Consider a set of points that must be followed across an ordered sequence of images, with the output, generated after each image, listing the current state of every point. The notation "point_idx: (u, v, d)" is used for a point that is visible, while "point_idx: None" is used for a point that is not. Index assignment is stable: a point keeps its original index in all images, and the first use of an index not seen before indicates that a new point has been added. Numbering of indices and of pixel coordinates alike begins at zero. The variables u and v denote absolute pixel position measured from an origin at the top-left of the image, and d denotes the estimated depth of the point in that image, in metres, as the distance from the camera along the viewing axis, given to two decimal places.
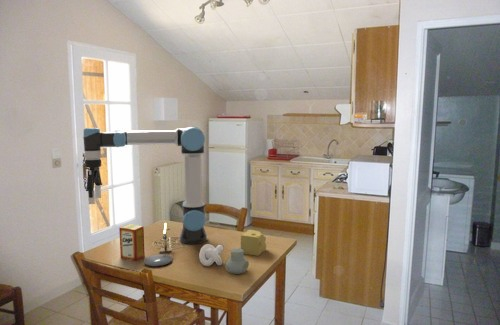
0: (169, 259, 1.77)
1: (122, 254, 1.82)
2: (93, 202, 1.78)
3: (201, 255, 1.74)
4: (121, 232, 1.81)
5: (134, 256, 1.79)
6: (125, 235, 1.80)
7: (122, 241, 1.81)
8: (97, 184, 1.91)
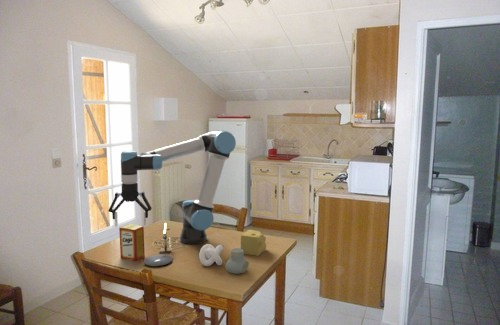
0: (169, 259, 1.77)
1: (122, 254, 1.82)
2: (115, 224, 1.80)
3: (201, 255, 1.74)
4: (121, 232, 1.81)
5: (134, 256, 1.79)
6: (125, 235, 1.80)
7: (122, 241, 1.81)
8: None
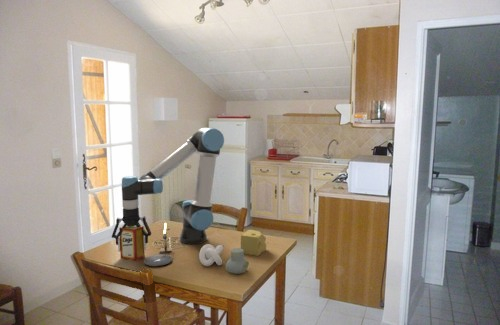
0: (169, 259, 1.77)
1: (122, 254, 1.82)
2: None
3: (201, 255, 1.74)
4: None
5: (134, 256, 1.79)
6: (125, 235, 1.80)
7: (122, 241, 1.81)
8: None
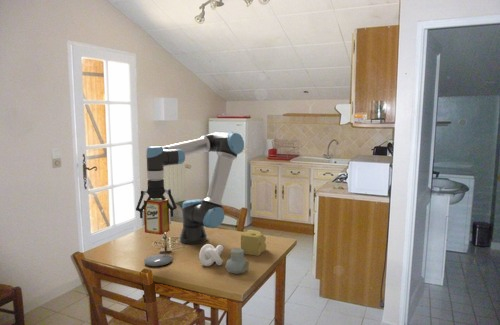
0: (169, 259, 1.77)
1: (146, 228, 1.74)
2: None
3: (201, 255, 1.74)
4: None
5: (159, 230, 1.71)
6: (149, 208, 1.72)
7: (146, 214, 1.73)
8: (170, 208, 1.76)
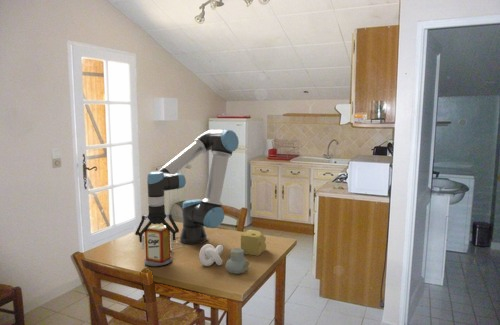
0: (169, 259, 1.77)
1: (148, 256, 1.76)
2: (142, 247, 1.75)
3: (201, 255, 1.74)
4: (147, 233, 1.74)
5: (160, 258, 1.73)
6: (151, 237, 1.74)
7: (148, 243, 1.75)
8: None
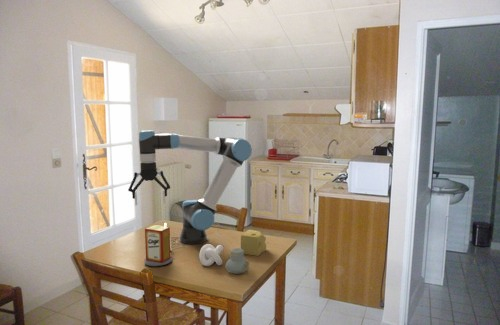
0: (169, 259, 1.77)
1: (148, 256, 1.76)
2: (135, 203, 1.82)
3: (201, 255, 1.74)
4: (147, 233, 1.74)
5: (160, 258, 1.73)
6: (151, 237, 1.74)
7: (148, 243, 1.75)
8: (164, 188, 1.85)
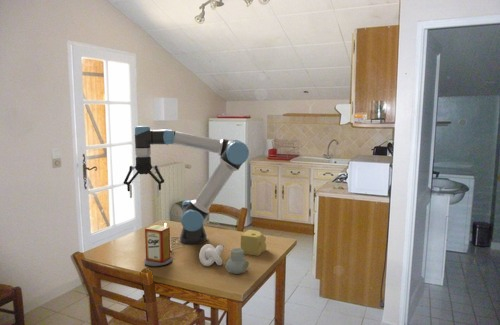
0: (169, 259, 1.77)
1: (148, 256, 1.76)
2: (130, 196, 1.88)
3: (201, 255, 1.74)
4: (147, 233, 1.74)
5: (160, 258, 1.73)
6: (151, 237, 1.74)
7: (148, 243, 1.75)
8: None
